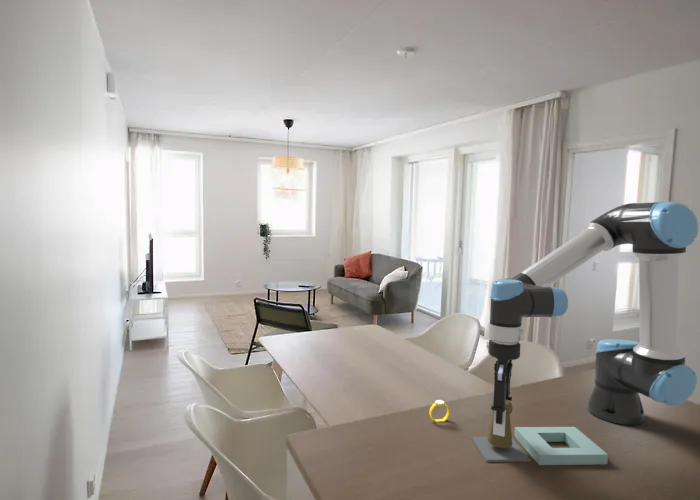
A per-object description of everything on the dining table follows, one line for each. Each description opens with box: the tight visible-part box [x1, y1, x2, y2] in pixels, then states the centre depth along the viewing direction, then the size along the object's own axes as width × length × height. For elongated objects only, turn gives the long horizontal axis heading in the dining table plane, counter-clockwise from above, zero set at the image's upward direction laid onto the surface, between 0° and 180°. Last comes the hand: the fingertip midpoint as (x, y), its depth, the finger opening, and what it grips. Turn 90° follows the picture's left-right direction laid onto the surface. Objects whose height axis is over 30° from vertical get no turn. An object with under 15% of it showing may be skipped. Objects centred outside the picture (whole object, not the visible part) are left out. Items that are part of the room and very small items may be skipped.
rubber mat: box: [471, 436, 532, 463], centre depth 110 cm, size 11×11×1 cm
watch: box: [428, 399, 451, 423], centre depth 126 cm, size 6×3×6 cm, turn 102°
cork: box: [487, 398, 513, 448], centre depth 110 cm, size 6×6×11 cm
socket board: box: [514, 426, 609, 466], centre depth 111 cm, size 17×14×2 cm
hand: (500, 429), depth 110 cm, fingers closed on cork, 5 cm apart
